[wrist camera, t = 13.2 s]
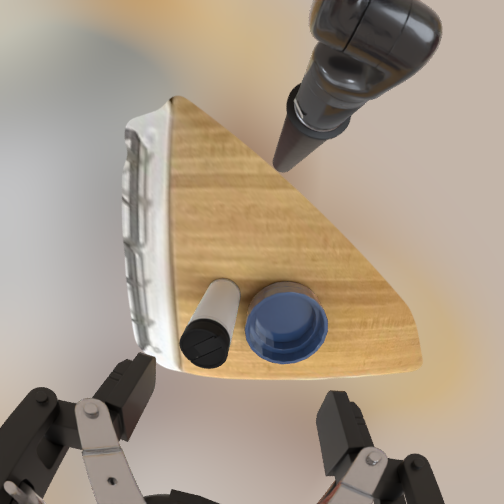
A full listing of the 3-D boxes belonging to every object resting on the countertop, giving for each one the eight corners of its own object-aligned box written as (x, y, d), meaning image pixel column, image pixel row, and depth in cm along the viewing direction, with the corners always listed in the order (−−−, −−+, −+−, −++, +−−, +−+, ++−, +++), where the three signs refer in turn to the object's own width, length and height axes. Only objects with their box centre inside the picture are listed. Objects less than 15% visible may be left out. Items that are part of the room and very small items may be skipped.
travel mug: (248, 298, 50) (240, 359, 31) (219, 314, 51) (197, 379, 32) (230, 270, 49) (209, 320, 30) (200, 288, 50) (167, 342, 31)
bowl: (255, 273, 49) (254, 284, 43) (330, 288, 49) (338, 300, 43) (240, 340, 52) (238, 356, 46) (309, 351, 52) (313, 368, 46)
